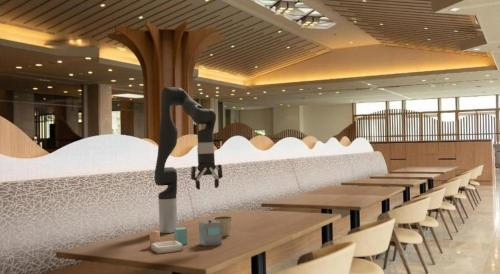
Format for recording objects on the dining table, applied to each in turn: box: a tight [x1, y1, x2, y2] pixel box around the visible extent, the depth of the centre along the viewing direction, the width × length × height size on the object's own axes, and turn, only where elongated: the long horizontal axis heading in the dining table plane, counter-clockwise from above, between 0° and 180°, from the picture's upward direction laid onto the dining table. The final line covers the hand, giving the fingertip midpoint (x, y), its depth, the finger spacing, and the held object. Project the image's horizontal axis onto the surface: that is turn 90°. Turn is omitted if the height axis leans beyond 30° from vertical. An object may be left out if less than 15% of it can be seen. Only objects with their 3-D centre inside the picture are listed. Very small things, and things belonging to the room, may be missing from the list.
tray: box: [150, 239, 184, 254], centre depth 222 cm, size 11×11×2 cm
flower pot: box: [212, 215, 233, 237], centre depth 251 cm, size 9×9×9 cm
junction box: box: [198, 219, 223, 248], centre depth 230 cm, size 7×8×11 cm
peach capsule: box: [149, 229, 161, 249], centre depth 229 cm, size 4×4×7 cm
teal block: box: [173, 227, 188, 246], centre depth 234 cm, size 4×4×7 cm
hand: (207, 188), depth 232 cm, fingers open, 8 cm apart
